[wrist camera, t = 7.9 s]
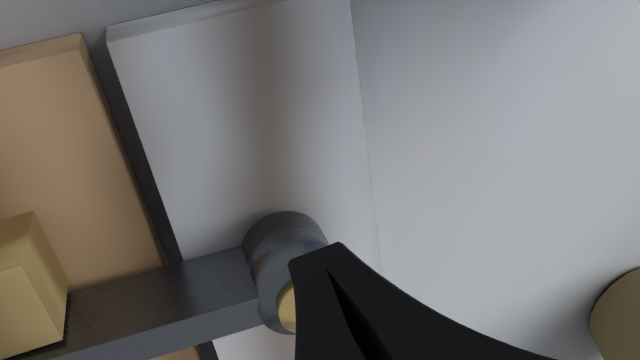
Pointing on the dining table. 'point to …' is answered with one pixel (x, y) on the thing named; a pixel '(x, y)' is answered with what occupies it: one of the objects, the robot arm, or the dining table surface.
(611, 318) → the squeeze bottle
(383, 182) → the dining table surface
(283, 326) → the lock bar
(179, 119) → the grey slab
